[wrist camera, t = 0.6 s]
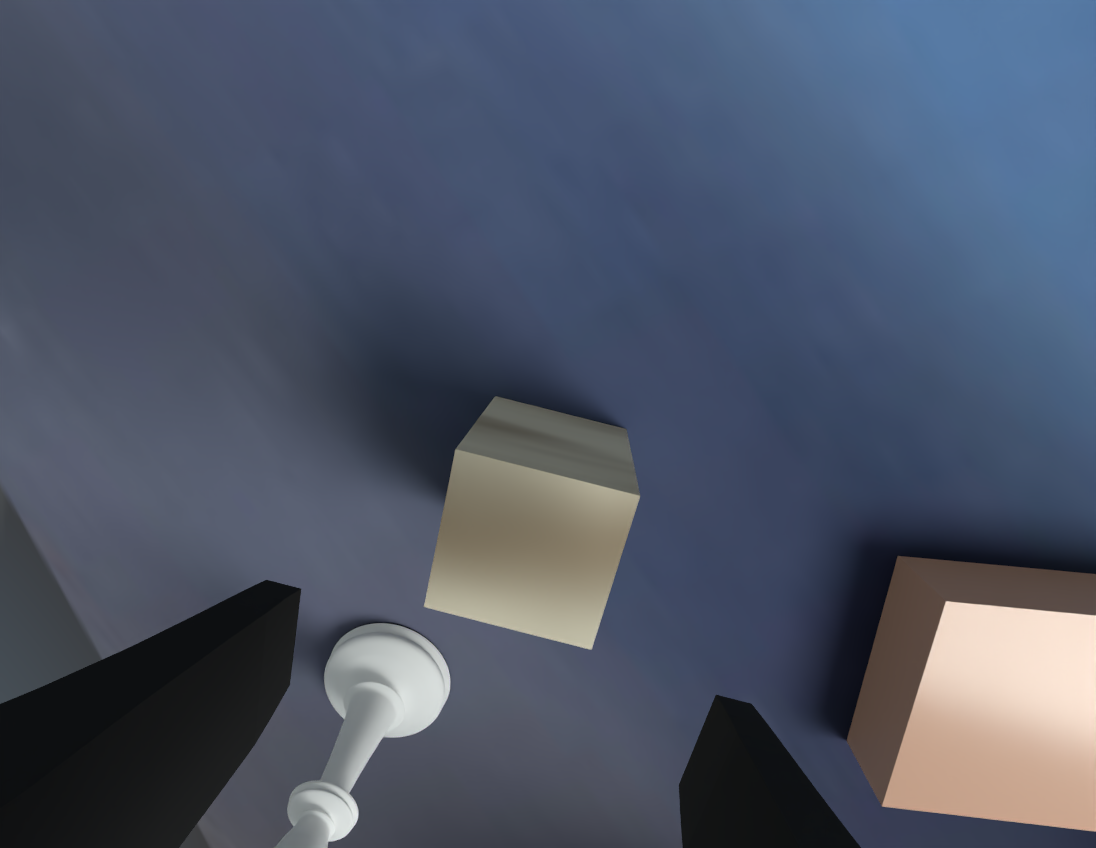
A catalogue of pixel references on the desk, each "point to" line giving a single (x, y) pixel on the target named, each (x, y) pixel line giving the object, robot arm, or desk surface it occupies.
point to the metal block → (534, 522)
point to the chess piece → (366, 720)
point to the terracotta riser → (983, 694)
